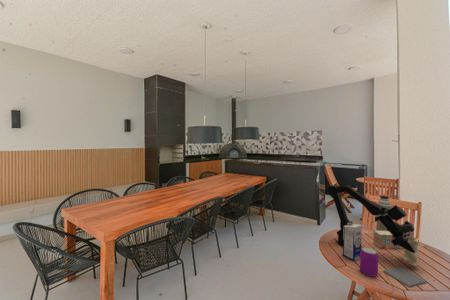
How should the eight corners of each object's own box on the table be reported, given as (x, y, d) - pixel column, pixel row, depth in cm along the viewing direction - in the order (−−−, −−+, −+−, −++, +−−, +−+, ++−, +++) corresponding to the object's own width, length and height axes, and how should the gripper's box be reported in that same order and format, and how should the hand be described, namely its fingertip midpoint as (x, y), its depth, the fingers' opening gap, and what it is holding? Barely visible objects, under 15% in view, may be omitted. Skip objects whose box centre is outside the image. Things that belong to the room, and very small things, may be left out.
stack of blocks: (380, 249, 131) (380, 230, 131) (373, 244, 138) (373, 226, 137) (413, 248, 132) (414, 229, 131) (404, 244, 138) (405, 225, 137)
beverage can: (356, 270, 110) (357, 248, 109) (365, 266, 113) (366, 245, 112) (371, 279, 103) (372, 255, 102) (381, 275, 106) (381, 252, 105)
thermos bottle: (392, 235, 151) (393, 197, 149) (386, 237, 147) (388, 198, 146) (380, 230, 158) (381, 194, 156) (374, 233, 154) (375, 195, 153)
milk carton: (353, 261, 118) (354, 227, 117) (342, 255, 124) (343, 222, 123) (361, 258, 121) (362, 224, 120) (349, 252, 127) (350, 220, 126)
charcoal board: (408, 287, 97) (408, 285, 97) (383, 271, 108) (383, 270, 108) (426, 282, 100) (426, 281, 100) (400, 268, 112) (400, 266, 111)
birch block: (403, 261, 113) (405, 238, 112) (405, 258, 116) (406, 235, 116) (416, 265, 109) (417, 241, 109) (417, 262, 113) (418, 238, 112)
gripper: (400, 222, 108) (428, 250, 101) (405, 213, 121) (431, 238, 113) (381, 231, 114) (406, 259, 107) (388, 222, 127) (411, 247, 119)
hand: (414, 250), depth 111 cm, fingers closed on birch block, 5 cm apart
